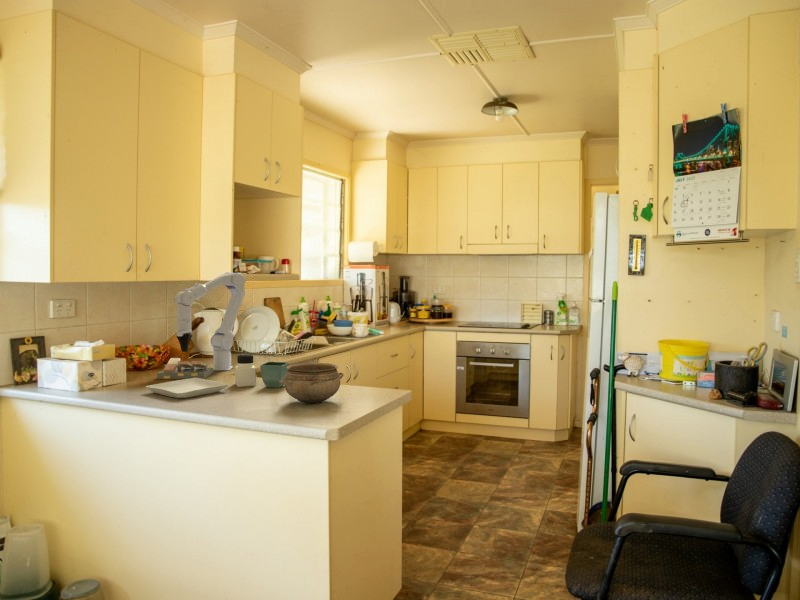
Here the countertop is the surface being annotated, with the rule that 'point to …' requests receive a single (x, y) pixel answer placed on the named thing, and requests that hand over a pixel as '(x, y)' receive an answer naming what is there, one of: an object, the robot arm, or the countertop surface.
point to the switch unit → (186, 373)
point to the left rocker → (172, 365)
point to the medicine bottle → (245, 371)
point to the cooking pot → (312, 382)
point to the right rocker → (198, 364)
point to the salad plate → (187, 387)
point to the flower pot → (273, 373)
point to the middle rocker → (184, 364)
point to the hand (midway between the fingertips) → (184, 351)
